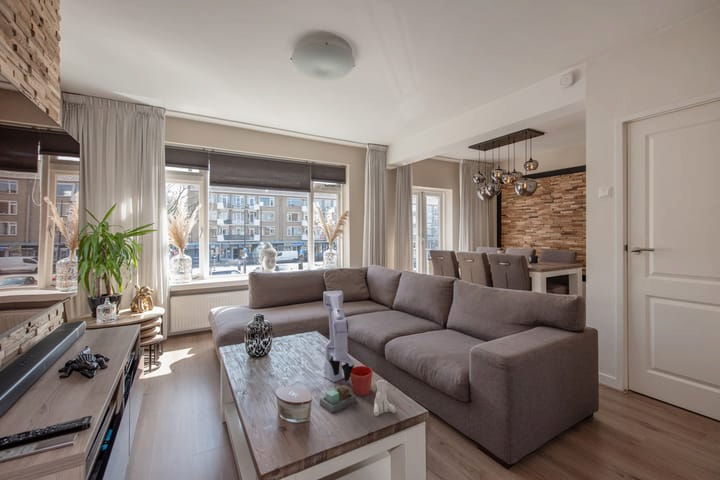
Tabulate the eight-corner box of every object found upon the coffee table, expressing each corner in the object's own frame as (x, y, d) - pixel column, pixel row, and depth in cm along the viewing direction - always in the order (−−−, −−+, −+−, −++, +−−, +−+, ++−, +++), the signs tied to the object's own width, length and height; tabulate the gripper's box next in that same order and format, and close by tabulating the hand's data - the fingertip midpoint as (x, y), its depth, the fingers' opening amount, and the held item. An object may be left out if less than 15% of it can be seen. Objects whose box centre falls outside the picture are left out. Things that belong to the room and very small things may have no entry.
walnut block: (344, 396, 140) (344, 385, 140) (350, 399, 137) (349, 388, 137) (337, 399, 138) (336, 388, 138) (342, 402, 135) (342, 391, 135)
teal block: (333, 401, 137) (333, 389, 136) (339, 404, 134) (339, 392, 134) (326, 404, 134) (325, 392, 134) (331, 408, 131) (331, 396, 131)
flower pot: (353, 399, 139) (352, 377, 139) (347, 387, 149) (347, 367, 149) (376, 395, 142) (375, 373, 141) (368, 384, 152) (368, 364, 152)
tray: (319, 404, 135) (319, 398, 135) (343, 394, 143) (343, 388, 143) (332, 413, 128) (332, 407, 128) (356, 401, 137) (356, 395, 137)
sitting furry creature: (374, 417, 125) (373, 387, 124) (367, 406, 133) (367, 378, 133) (396, 413, 127) (395, 383, 127) (388, 402, 135) (387, 374, 135)
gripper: (323, 344, 141) (324, 375, 141) (344, 353, 130) (345, 386, 130) (336, 341, 146) (337, 370, 146) (357, 349, 135) (357, 380, 135)
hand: (341, 377), depth 138 cm, fingers open, 7 cm apart
